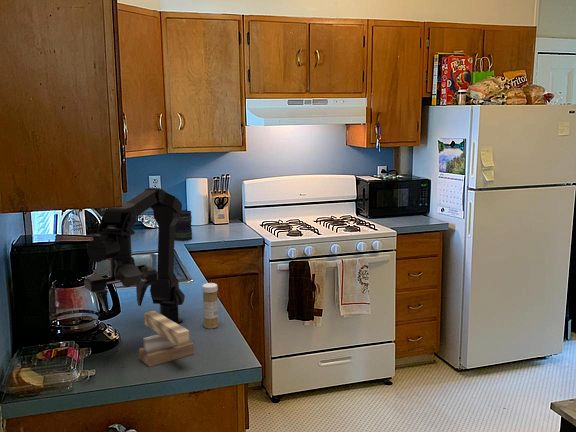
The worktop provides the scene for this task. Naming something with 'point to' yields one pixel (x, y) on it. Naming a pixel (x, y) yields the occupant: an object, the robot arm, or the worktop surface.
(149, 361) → the ridge
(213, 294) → the sprinkles bottle
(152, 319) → the batten
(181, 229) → the storage jar
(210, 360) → the worktop surface
